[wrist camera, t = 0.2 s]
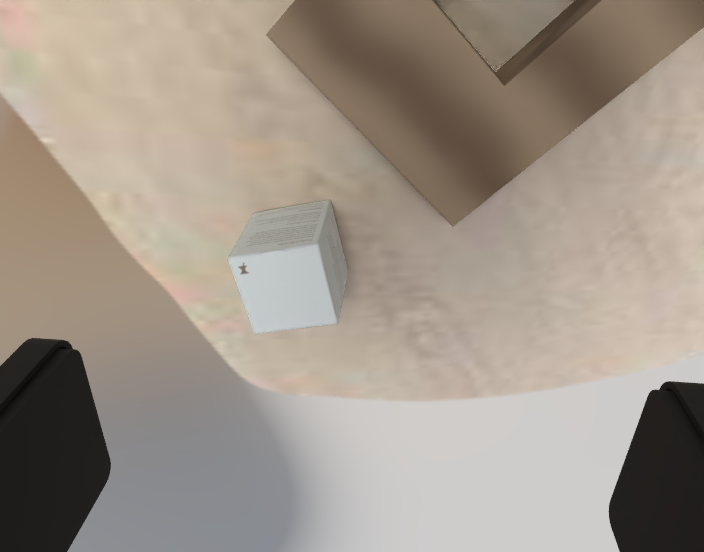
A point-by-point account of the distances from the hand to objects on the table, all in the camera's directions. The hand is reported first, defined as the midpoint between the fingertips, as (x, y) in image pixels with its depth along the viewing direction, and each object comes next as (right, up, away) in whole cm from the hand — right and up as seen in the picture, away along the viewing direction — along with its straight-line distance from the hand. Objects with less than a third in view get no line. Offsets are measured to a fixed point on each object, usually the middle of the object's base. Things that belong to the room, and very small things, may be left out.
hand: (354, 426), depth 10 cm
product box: (-4, +5, +33) cm, 34 cm away
